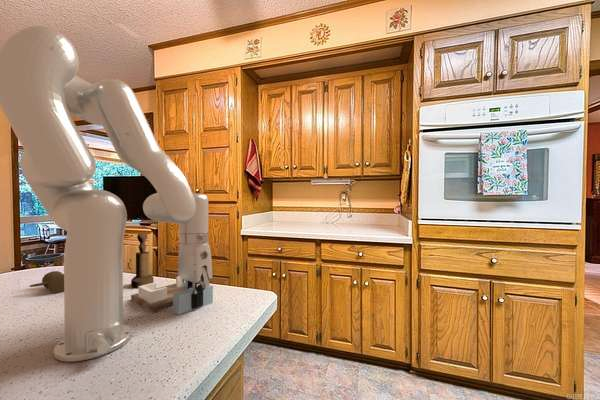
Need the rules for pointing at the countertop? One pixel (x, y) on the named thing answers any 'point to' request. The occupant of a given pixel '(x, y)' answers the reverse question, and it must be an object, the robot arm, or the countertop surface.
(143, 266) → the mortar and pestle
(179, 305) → the light blue rectangular block
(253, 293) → the countertop surface
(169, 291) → the board
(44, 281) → the kendama
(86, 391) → the countertop surface
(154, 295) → the end caps
